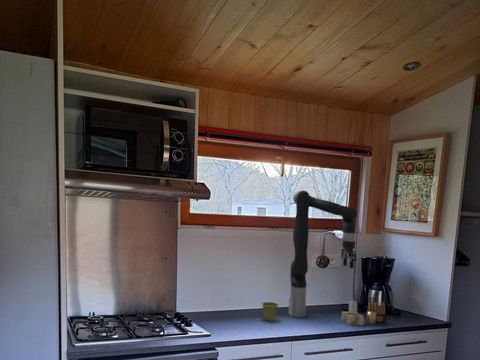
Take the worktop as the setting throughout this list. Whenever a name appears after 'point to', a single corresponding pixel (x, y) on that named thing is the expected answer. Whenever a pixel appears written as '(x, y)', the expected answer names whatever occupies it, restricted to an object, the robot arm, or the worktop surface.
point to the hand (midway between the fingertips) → (348, 266)
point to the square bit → (352, 308)
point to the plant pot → (269, 310)
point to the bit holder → (352, 319)
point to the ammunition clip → (378, 312)
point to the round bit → (371, 318)
